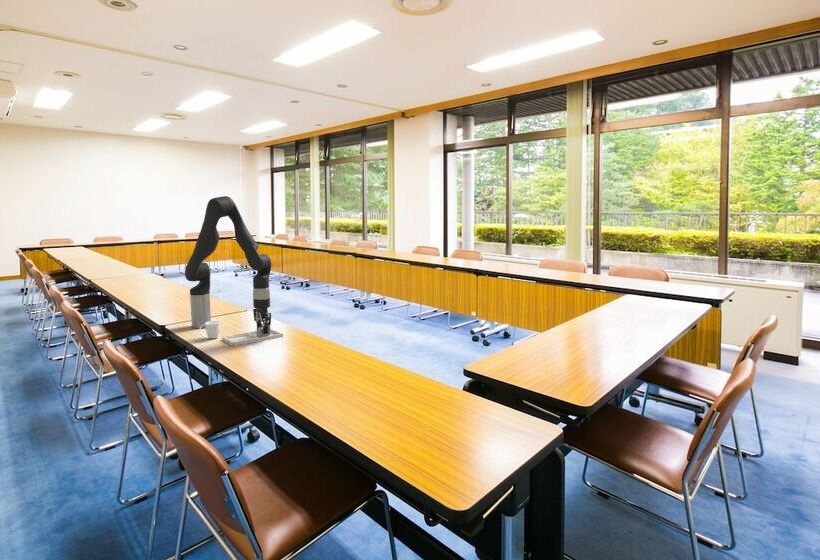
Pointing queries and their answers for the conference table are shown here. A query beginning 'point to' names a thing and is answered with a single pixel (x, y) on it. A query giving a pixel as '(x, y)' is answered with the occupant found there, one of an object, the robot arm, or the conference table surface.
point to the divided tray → (249, 337)
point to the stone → (261, 332)
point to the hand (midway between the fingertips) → (262, 332)
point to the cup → (211, 329)
